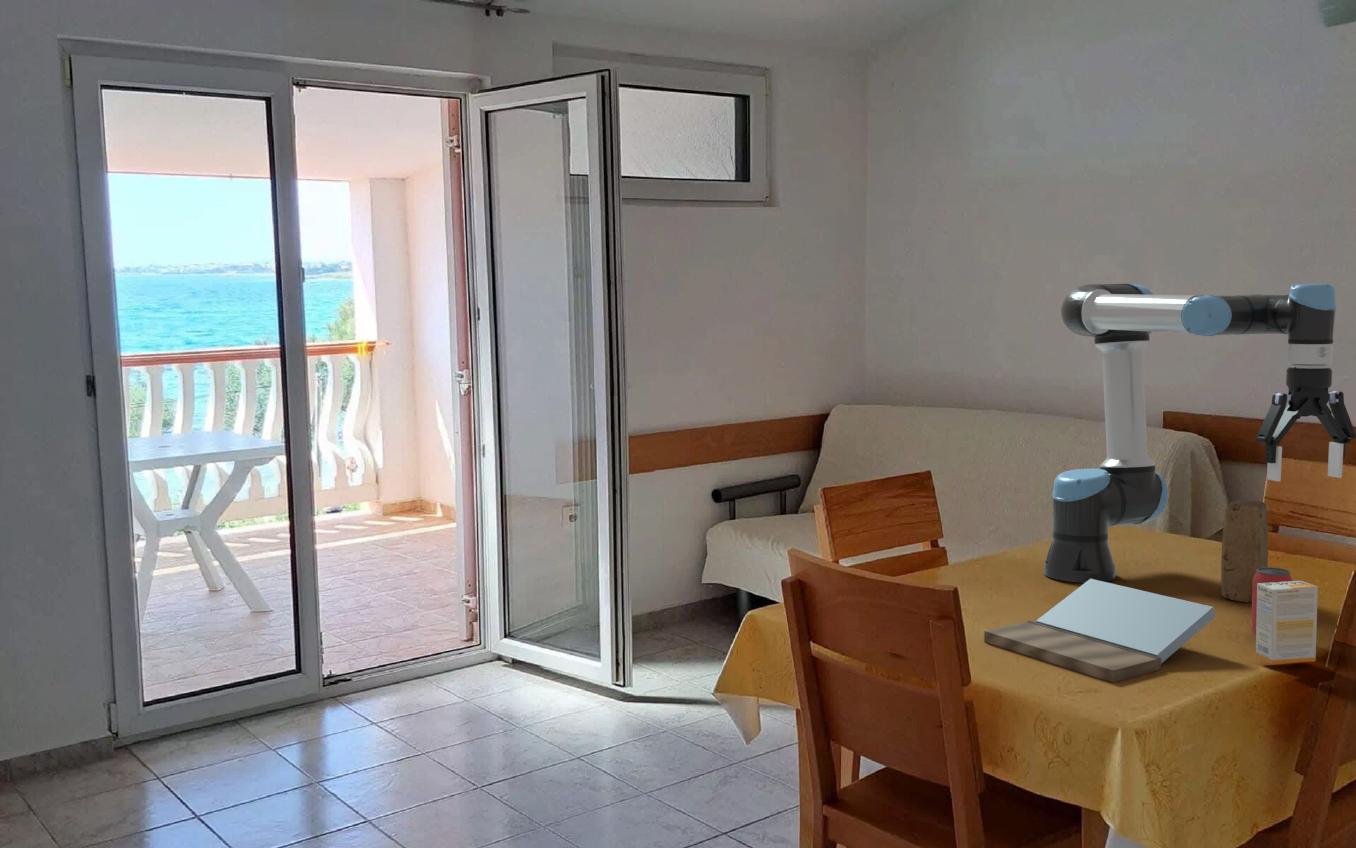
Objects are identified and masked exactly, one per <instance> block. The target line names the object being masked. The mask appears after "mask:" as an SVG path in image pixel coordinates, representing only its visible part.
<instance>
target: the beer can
mask: <svg viewBox="0 0 1356 848" xmlns="http://www.w3.org/2000/svg"><path fill="white" fill-rule="evenodd" d="M1256 571H1257V572H1256V574H1255V576H1254V578H1253V590H1252V602H1251V623H1250V624H1251V626H1250V627H1251V629H1250V630H1251V633H1253V634H1254V635H1255V636H1256V621H1257V583H1270V582H1288V581H1293V579H1292V576H1291V571H1290V570H1288V569H1286V568H1280V567H1272V566H1271V567H1270V566H1269V567H1261V568H1258V569H1256Z"/></svg>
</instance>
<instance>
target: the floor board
mask: <svg viewBox="0 0 1356 848" xmlns="http://www.w3.org/2000/svg"><path fill="white" fill-rule="evenodd" d="M983 634H984V635H983V637H984V638H983V639H984V640H983V641H984V643H987V644H990V645H994V646H996V647H999V648H1003V649H1006V650H1008V651H1013V652H1015V653H1019V654H1022V655H1025V656H1029V657H1031V658H1034V659H1037V660H1041V661H1043V662H1047V663H1049V664H1053V665H1057V666H1060V667H1062V668H1065V669H1068V670H1072V671H1075V672H1079V673H1080V674H1081V673H1082V674H1085V675H1088V676H1091V677H1094V678H1098V679H1101V680H1104V681H1107V682H1110V683H1116V682H1119V681H1123V680H1126V679H1131V678H1136V677H1138V676H1142V675H1143V676H1144V675H1146V674H1151V673H1153V672H1157V671H1161V669H1162V663H1161V658H1159V657H1156V656H1152V655H1149V654H1145V653H1142V652H1138V651H1135V650H1131V649H1128V648H1124V647H1121V646H1117V645H1114V644H1110V643H1107V642H1103V641H1100V640H1096V639H1092V638H1089V637H1085V636H1082V635H1078V634H1075V633H1071V632H1068V631H1064V630H1061V629H1057V628H1054V627H1050V626H1047V625H1043V624H1040V623H1036V621H1032V620H1027V621H1025V622H1020V623H1015V624H1011V625H1007V626H1001V627H996V628H993V629H992V628H991V629H987V630H984V632H983Z"/></svg>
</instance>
